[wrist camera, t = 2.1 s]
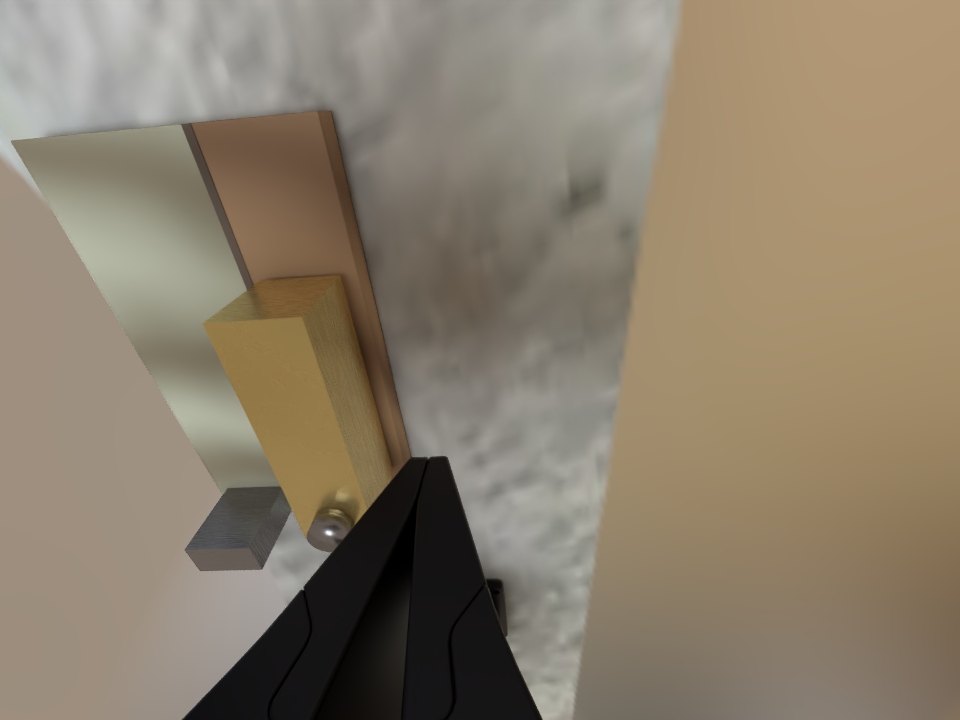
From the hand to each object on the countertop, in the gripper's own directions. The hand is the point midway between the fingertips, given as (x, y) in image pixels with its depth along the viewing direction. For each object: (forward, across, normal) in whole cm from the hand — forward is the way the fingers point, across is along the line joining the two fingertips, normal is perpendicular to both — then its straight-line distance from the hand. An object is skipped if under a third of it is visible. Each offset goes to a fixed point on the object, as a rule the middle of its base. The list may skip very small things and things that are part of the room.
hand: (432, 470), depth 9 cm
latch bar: (+8, +5, +3) cm, 10 cm away
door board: (+9, +8, +2) cm, 13 cm away
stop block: (+8, +12, +10) cm, 17 cm away
